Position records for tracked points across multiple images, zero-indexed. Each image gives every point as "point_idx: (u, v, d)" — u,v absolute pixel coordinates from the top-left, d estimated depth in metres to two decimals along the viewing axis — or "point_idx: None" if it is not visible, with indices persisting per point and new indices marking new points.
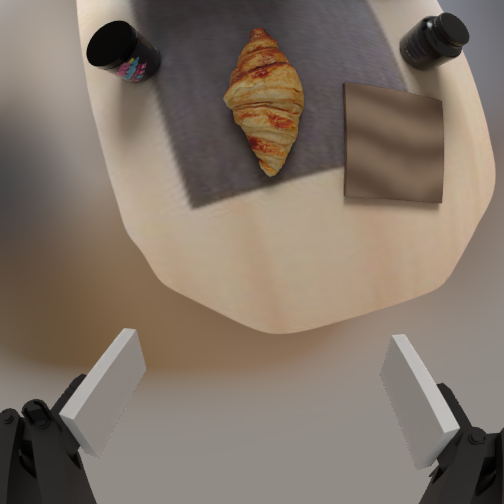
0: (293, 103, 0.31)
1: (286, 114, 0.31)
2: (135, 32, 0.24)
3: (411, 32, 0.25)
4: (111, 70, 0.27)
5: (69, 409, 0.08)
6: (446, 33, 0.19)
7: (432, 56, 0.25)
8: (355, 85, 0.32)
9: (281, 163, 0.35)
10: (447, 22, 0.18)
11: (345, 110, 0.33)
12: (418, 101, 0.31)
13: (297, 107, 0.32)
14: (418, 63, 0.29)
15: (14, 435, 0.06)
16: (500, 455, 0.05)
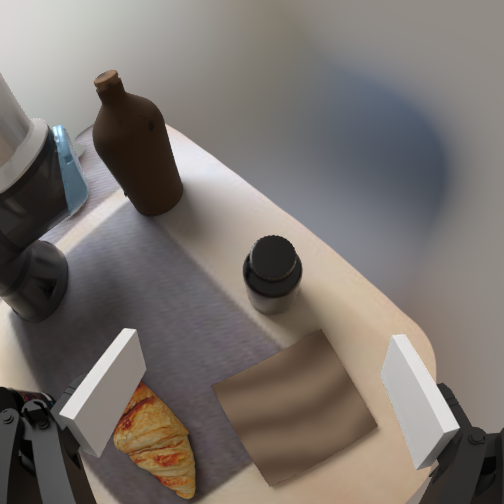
0: (170, 438, 0.28)
1: (169, 449, 0.27)
2: (19, 399, 0.24)
3: None
4: None
5: (69, 409, 0.08)
6: (265, 276, 0.28)
7: (275, 302, 0.32)
8: (222, 383, 0.33)
9: (191, 488, 0.26)
10: (261, 257, 0.29)
11: (225, 412, 0.32)
12: (295, 352, 0.35)
13: (176, 439, 0.28)
14: (273, 311, 0.36)
15: (14, 435, 0.06)
16: (500, 455, 0.05)
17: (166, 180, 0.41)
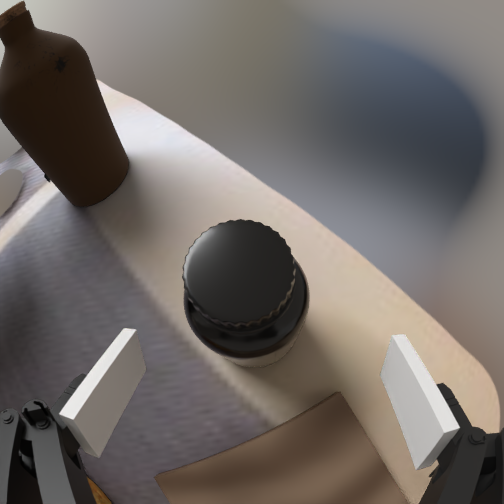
0: None
1: None
2: None
3: None
4: None
5: (69, 409, 0.08)
6: (218, 320, 0.11)
7: (253, 361, 0.15)
8: (171, 475, 0.16)
9: None
10: (208, 273, 0.12)
11: None
12: (294, 434, 0.17)
13: None
14: (254, 366, 0.19)
15: (14, 435, 0.06)
16: (500, 455, 0.05)
17: (93, 151, 0.24)
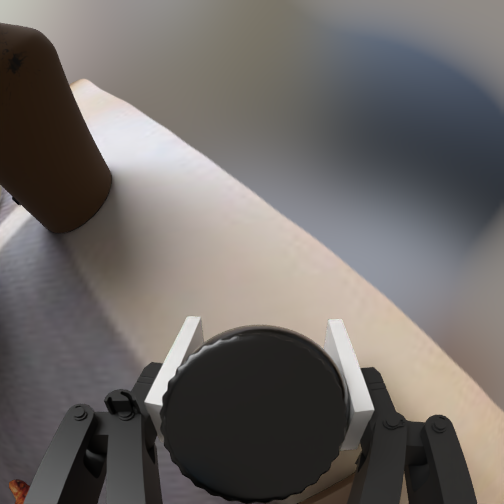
0: None
1: None
2: None
3: None
4: None
5: (155, 396, 0.09)
6: (220, 494, 0.05)
7: None
8: None
9: None
10: (201, 429, 0.06)
11: None
12: None
13: None
14: None
15: (84, 435, 0.07)
16: (429, 450, 0.06)
17: (63, 169, 0.18)
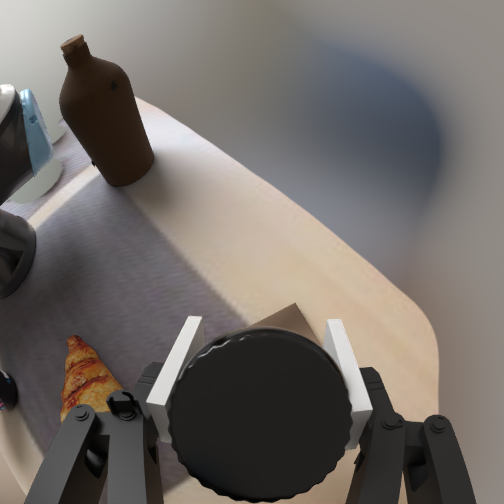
0: None
1: None
2: None
3: None
4: None
5: (156, 396, 0.09)
6: (227, 494, 0.05)
7: None
8: None
9: None
10: (209, 430, 0.06)
11: None
12: None
13: None
14: None
15: (85, 435, 0.07)
16: (427, 450, 0.06)
17: (132, 145, 0.36)
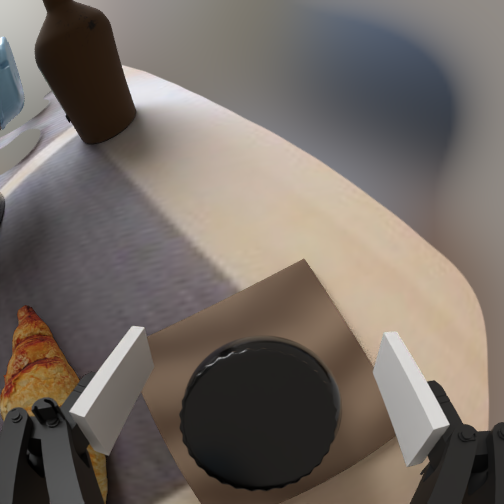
0: None
1: None
2: None
3: None
4: None
5: (79, 407, 0.08)
6: (229, 483, 0.06)
7: None
8: None
9: None
10: (215, 428, 0.07)
11: (144, 394, 0.18)
12: (260, 296, 0.21)
13: None
14: None
15: (22, 434, 0.06)
16: (492, 453, 0.05)
17: (109, 93, 0.28)
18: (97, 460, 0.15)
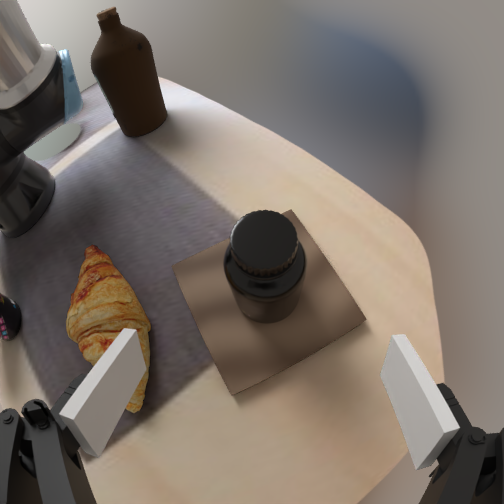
0: (125, 320, 0.27)
1: None
2: None
3: None
4: None
5: (69, 409, 0.08)
6: (251, 267, 0.19)
7: (268, 307, 0.23)
8: (183, 262, 0.33)
9: (137, 395, 0.24)
10: (245, 240, 0.20)
11: (184, 296, 0.31)
12: None
13: (132, 323, 0.27)
14: (266, 319, 0.27)
15: (14, 435, 0.06)
16: (500, 455, 0.05)
17: (150, 98, 0.41)
18: (145, 349, 0.27)
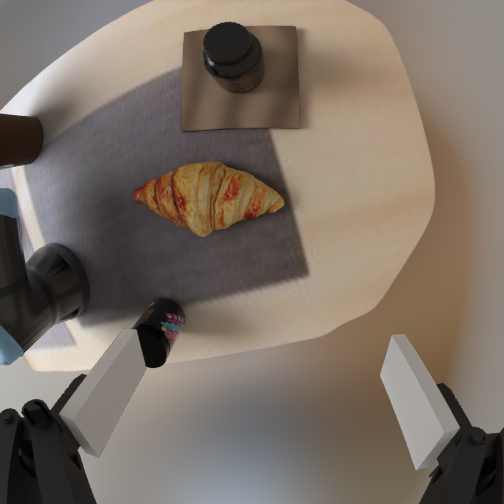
0: (214, 174, 0.35)
1: (224, 181, 0.35)
2: (136, 326, 0.37)
3: (226, 85, 0.29)
4: (171, 345, 0.39)
5: (69, 409, 0.08)
6: (241, 54, 0.22)
7: (260, 66, 0.27)
8: (183, 120, 0.36)
9: (273, 192, 0.37)
10: (221, 50, 0.22)
11: (210, 129, 0.36)
12: (189, 56, 0.33)
13: (218, 170, 0.35)
14: (261, 77, 0.31)
15: (14, 435, 0.06)
16: (500, 455, 0.05)
17: (18, 123, 0.31)
18: (241, 171, 0.37)
